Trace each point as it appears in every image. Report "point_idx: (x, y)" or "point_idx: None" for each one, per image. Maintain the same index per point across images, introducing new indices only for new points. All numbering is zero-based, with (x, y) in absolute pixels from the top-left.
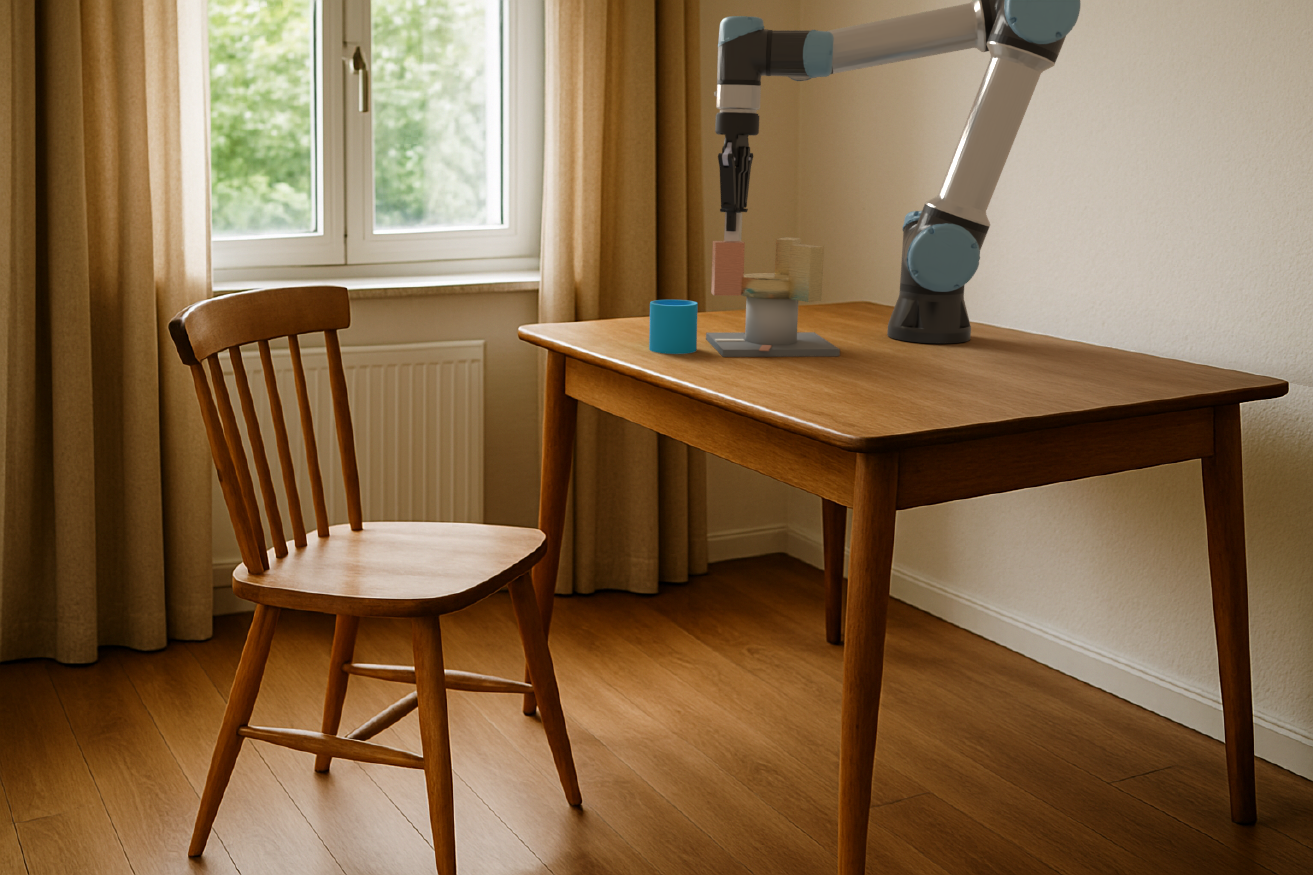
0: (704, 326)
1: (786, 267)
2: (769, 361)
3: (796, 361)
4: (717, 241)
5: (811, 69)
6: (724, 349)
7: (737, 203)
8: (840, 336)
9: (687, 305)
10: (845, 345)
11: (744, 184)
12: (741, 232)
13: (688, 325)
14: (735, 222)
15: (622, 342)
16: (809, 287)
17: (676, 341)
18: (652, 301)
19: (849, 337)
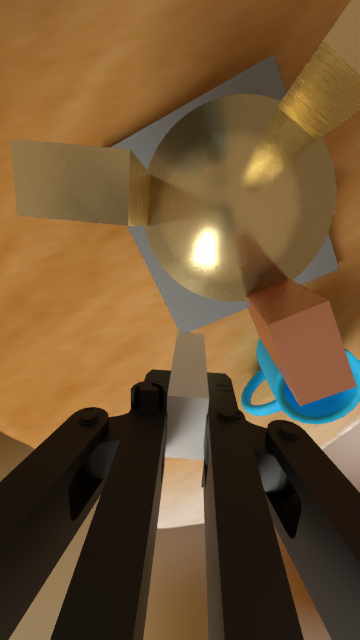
0: (64, 363)
1: (146, 188)
2: (356, 183)
3: (345, 135)
4: (319, 389)
5: None
6: (337, 267)
7: (249, 439)
8: (41, 114)
9: (351, 356)
10: (140, 78)
11: (95, 536)
12: (175, 355)
13: None
14: (213, 390)
15: (252, 423)
16: None
17: None
18: (314, 422)
19: (43, 92)
